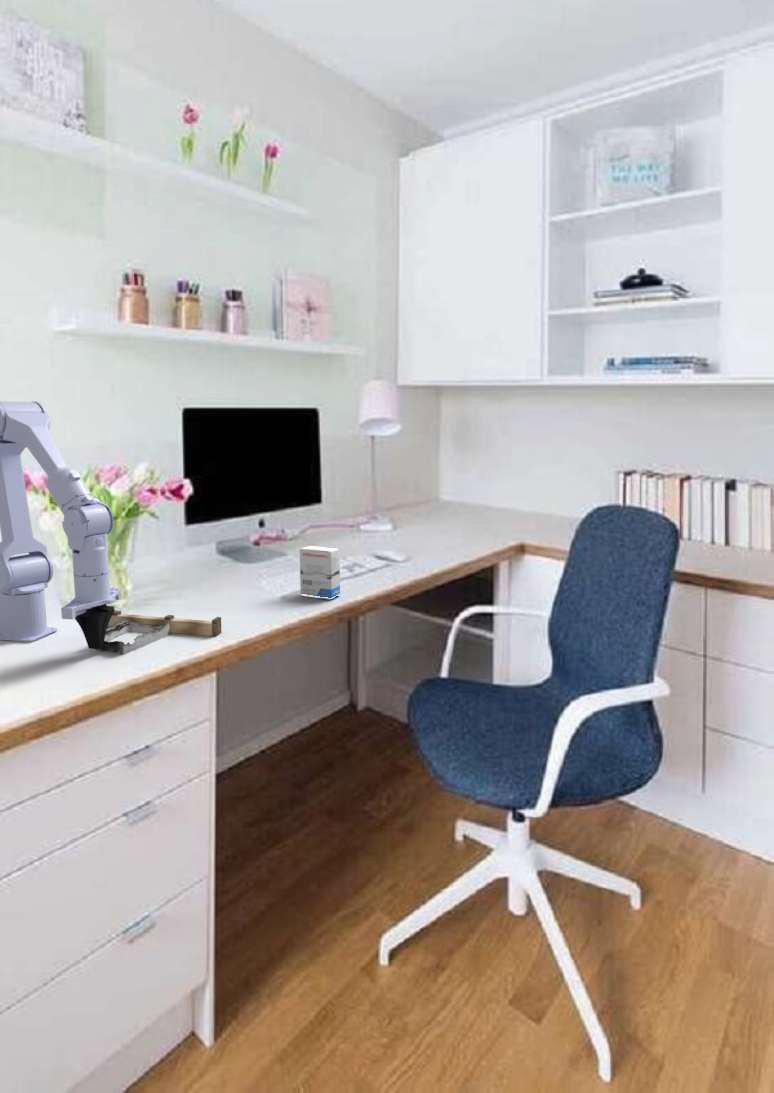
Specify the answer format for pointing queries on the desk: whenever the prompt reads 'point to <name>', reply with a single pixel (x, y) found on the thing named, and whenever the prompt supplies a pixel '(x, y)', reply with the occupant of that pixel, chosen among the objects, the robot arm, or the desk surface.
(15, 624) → the robot arm
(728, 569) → the desk surface
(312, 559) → the ink box
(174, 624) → the ledge
